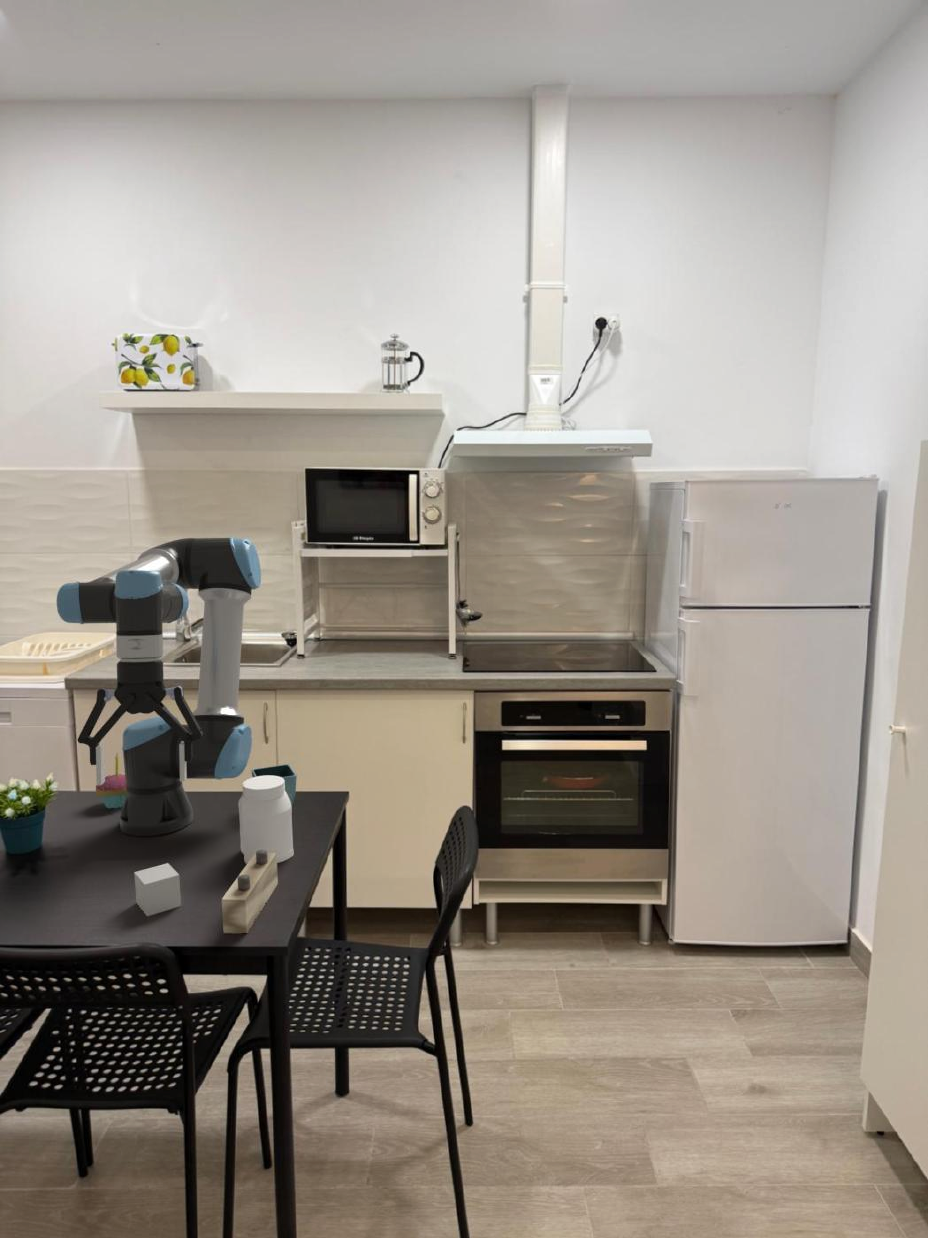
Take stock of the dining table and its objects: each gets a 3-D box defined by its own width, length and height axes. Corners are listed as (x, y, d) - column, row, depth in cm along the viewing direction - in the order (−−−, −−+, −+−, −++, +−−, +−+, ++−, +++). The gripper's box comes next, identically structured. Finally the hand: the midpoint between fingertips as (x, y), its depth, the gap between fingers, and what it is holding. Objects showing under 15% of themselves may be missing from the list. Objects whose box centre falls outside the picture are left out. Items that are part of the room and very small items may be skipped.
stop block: (223, 933, 143) (220, 888, 142) (256, 883, 161) (254, 842, 159) (247, 933, 143) (244, 888, 141) (277, 883, 160) (275, 843, 159)
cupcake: (107, 798, 205) (103, 750, 203) (142, 798, 204) (138, 749, 203) (90, 812, 196) (86, 761, 194) (127, 812, 196) (123, 761, 194)
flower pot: (259, 819, 191) (257, 781, 189) (252, 806, 199) (250, 769, 197) (298, 813, 194) (297, 775, 193) (290, 800, 202) (288, 763, 201)
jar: (239, 846, 177) (235, 776, 175) (285, 838, 181) (282, 770, 178) (246, 869, 167) (242, 795, 164) (296, 860, 170) (293, 788, 168)
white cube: (136, 903, 154) (134, 872, 153) (170, 894, 157) (167, 863, 156) (147, 917, 149) (144, 884, 148) (181, 906, 152) (179, 874, 151)
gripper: (56, 662, 142) (59, 790, 143) (212, 659, 147) (214, 783, 147) (68, 659, 150) (71, 780, 150) (217, 656, 154) (218, 773, 155)
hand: (142, 782), depth 149 cm, fingers open, 13 cm apart
